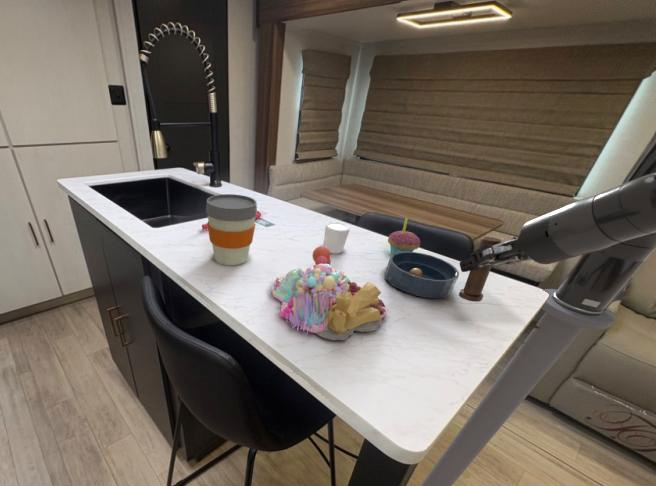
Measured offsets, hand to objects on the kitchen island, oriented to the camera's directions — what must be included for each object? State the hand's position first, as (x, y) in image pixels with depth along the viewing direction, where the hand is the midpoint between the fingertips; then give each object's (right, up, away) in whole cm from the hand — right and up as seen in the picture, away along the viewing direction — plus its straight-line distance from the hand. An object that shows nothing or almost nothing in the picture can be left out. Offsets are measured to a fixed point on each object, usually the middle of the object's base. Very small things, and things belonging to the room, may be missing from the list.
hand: (469, 266), depth 61 cm
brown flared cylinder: (+1, -6, +1) cm, 6 cm away
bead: (-3, 0, +14) cm, 15 cm away
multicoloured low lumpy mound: (-28, -8, +5) cm, 30 cm away
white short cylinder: (-20, +8, +29) cm, 36 cm away
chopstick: (-49, +22, +38) cm, 66 cm away
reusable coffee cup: (-50, +5, +21) cm, 54 cm away
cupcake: (-1, +6, +28) cm, 29 cm away
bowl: (-3, -3, +15) cm, 15 cm away
